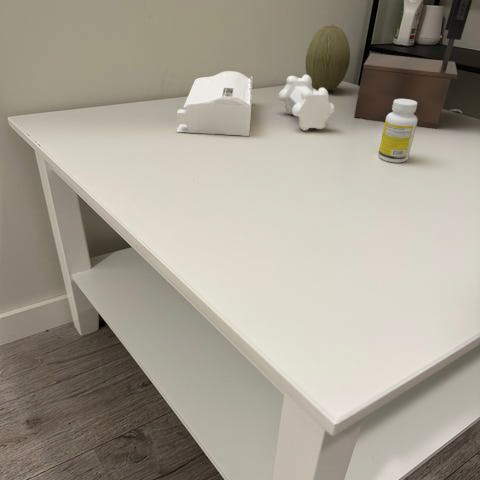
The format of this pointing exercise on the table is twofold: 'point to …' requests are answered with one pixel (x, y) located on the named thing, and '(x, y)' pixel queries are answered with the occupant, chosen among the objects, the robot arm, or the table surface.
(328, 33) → the fruit
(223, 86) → the barrel roof building
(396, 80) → the chest
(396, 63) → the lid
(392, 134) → the supplement bottle
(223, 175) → the table surface
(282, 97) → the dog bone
